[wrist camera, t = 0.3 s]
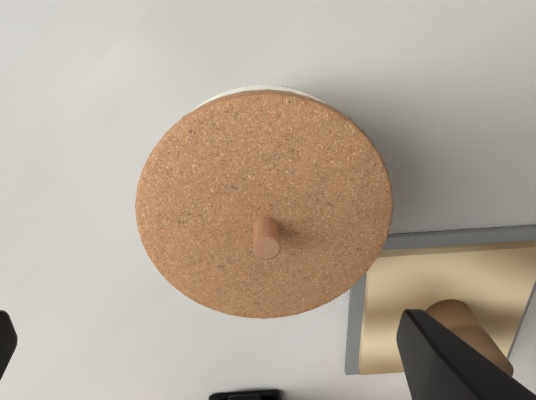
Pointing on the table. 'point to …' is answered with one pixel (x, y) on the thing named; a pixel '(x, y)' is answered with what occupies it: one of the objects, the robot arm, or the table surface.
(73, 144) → the table surface
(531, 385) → the table surface
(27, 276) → the table surface
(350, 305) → the mat
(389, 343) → the lid
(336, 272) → the lidded jar
